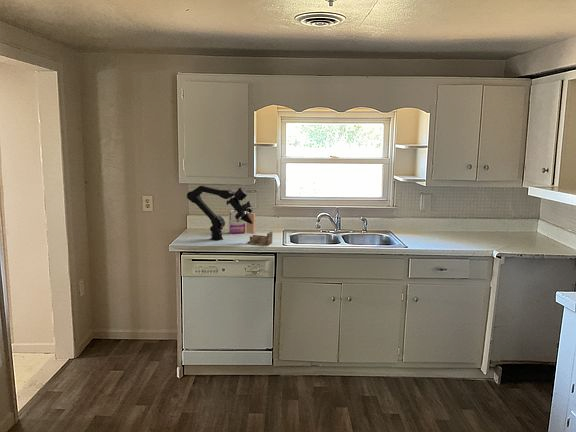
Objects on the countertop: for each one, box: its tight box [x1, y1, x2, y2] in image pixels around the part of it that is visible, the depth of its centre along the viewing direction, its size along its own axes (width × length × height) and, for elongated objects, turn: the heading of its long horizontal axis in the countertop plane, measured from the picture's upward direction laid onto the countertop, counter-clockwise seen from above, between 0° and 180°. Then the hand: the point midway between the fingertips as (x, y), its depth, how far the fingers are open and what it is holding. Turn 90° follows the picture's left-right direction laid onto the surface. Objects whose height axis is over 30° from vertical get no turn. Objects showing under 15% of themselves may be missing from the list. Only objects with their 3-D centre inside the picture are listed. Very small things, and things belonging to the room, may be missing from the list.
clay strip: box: [245, 212, 256, 235], centre depth 309 cm, size 5×2×13 cm, turn 73°
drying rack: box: [247, 231, 273, 246], centre depth 308 cm, size 14×8×8 cm, turn 73°
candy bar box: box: [228, 209, 246, 235], centre depth 340 cm, size 11×5×16 cm, turn 112°
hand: (252, 223), depth 308 cm, fingers closed on clay strip, 2 cm apart
